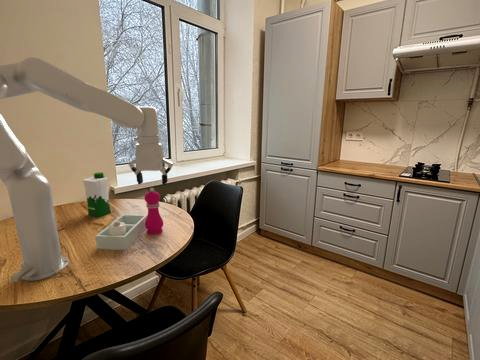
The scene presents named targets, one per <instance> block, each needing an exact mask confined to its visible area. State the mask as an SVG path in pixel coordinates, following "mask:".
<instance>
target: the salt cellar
mask: <svg viewBox="0 0 480 360" xmlns="http://www.w3.org/2000/svg"><path fill="white" fill-rule="evenodd" d="M113 222H114V221H113ZM113 222H112V224H111V223H110V224H109V225H108V226H109V234H110V236H124V235H125V234H126V227H125V223H123V222H119V221H116V222H114V223H113Z"/></svg>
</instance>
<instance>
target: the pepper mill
mask: <svg viewBox="0 0 480 360" xmlns="http://www.w3.org/2000/svg"><path fill="white" fill-rule="evenodd" d="M143 198H144V201H145V202H146V204H145V205H146V208H147V214H146V215H147V218H146V221H145V227H146V229H147V230H146V229H145V230H146V234H147V235H149V236H156V235H157V236H158V235H160V234H163V232H164V231H163V226H164V219H163V217H162V216H161V215H160V211H159V207H160V200H161V195H160V193H159V192H158V191H155V188H154V187H150V188H149V190H148V191H147V192H146V193H145V194H144V197H143Z"/></svg>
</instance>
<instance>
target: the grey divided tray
mask: <svg viewBox="0 0 480 360" xmlns="http://www.w3.org/2000/svg"><path fill="white" fill-rule="evenodd" d="M147 215H148V214H126V213H125V214H124V213H123V214H121V215H120V216H119V217H117V218H116V219H115V220H114V221H112V223H114V222H116V221H119V222H123V223H125V227H126V234H125V235H124V236H110V234H109V225H107V226H106V227H105V228H104V229H103V230H101V231H100V232H98V233H97V234H96V235H95V243H96V249H97V250H115V251H116V250H118V251H122V250H123V251H126V250H128V248H129V247H130V246H131V245H132V244H133V243H134V242H135V241H136V240H137V239H138V238H139V237H140V236H141V234H142V233H144V231H145V230H146V227H145V221H146V218H147ZM112 223H110V224H112Z"/></svg>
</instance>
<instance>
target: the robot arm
mask: <svg viewBox="0 0 480 360" xmlns="http://www.w3.org/2000/svg"><path fill="white" fill-rule="evenodd" d="M35 92H39V93H42V94H44V95H45V96H48V97H51V98H53V99H55V100H58V101H60V102H62V103H64V104H65V105H68V106H71V107H73V108H75V109H79V110H81V111H83V112H87V113H93V114H96V115H99V116H102V117H105V118H108V119H110V120H111V121H112V123H113V124H114V125H116V126H117V127H119V128H124V129H125V128H126V129H136V131H137V133H136V134H137V136H136V137H134V138H133V139H134V141H136V142H137V143H136V144H135V151H134V153H135V157H134V160H132V161H130V162H128V163H127V164H128V166H129V168H130V171H132V172H133V173H134V174H135V176H136V182H137V185H142V183H144V178H143V173H142V172H143V171H144V172H145V171H147V172H149V171H151V172H157V171H160V173H161V185H163V186H165V185H166V184H167V183H168V173H169V172H170V171H171V170H172V168H173V166H174V163H173V162H172V161H170V160H168V159H166V158H165V155H164V154H165V153H164V150H163V145H162V144H161V143H160V135H159V121H158V111H157V109H156V107H154V106H136V105H135V104H134V103H131V102H130V101H128V100H125V99H124V98H123V97H122V98H121V97H120V96H118V95H115V94H113V93H111V92H109V91H107V90H104V89H102V88H100V87H98V86H95V85H93V84H90V83H88V82H86V81H84V80H82V79H80V78H78V77H76V76H75V75H72V74H70V73H69V72H67V71H65V70H63V69H61V68H59V67H58V66H55V65H53V64H51V63H49V62H48V61H45V60H43V59H41V58H38V57H26V58H24V59H22V60H21V61H19V62H14V63H11V64H10V63H9V64H4V65H0V100H3V99H8V98H13V97H19V96H24V95H27V94H32V93H35ZM32 159H33V158H31V156H30V155H29V154H28V152H27V149H26V148H25V146H24V144H23V143H22V142H20V140H19V139H18V137H17V136H16V135H15V134H14V133H13V131H12V129H11V127H9V125H8V124H7V121H6V120H5V118H4V116H3V115H2V114H1V113H0V181H1V182H2V183H3V185H4V186H5V187H6V189H7V194H8V197H9V202H10V206H11V211H12V216H13V220H14V225H15V229H16V232H17V238H18V242H19V243H18V244H19V247H20V252H21V256H22V261H23V262H22V263H21V264H20V267H21V268H20V269H19V271H18V272H16V273H15V274H14V275H12V276H10V280H11V281H12V282H13V283H16V282H18V281H19V280H23V281H27V282H33V281H42V280H45V279H48V278H51V277H54V276H56V275H58V274H59V272H60V271H61V270H62V269H64V268H65V267H66V266H68V264H69V258H68V257H66V256H64V255H62V249H61V243H60V238H59V232H58V226H57V221H56V216H55V215H56V214H55V209H54V199H53V190H52V186H51V184H50V182H49V180H48V178H46V176H45V175H43V174H42V172H41V171H40V170H39V168H38V166H37V165H36V164H35V162H34V161H33V160H32ZM166 165H167V168H166Z"/></svg>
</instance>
